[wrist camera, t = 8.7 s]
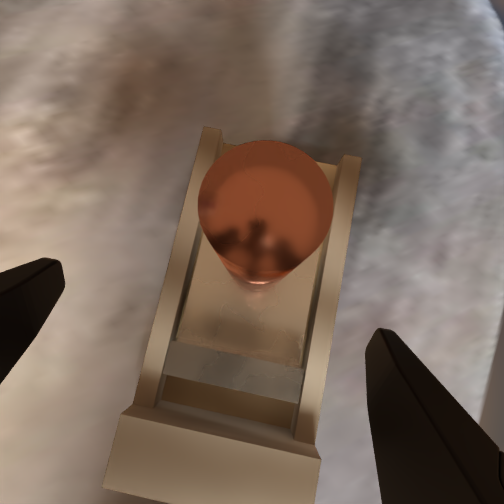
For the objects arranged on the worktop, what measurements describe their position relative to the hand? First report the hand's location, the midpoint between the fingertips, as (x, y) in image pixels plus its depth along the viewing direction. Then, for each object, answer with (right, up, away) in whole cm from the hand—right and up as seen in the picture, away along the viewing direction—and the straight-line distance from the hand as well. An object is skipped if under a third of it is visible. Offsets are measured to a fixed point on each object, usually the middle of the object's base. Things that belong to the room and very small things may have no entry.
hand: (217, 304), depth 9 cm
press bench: (+1, -2, +11) cm, 11 cm away
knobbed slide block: (+1, -2, +9) cm, 9 cm away
